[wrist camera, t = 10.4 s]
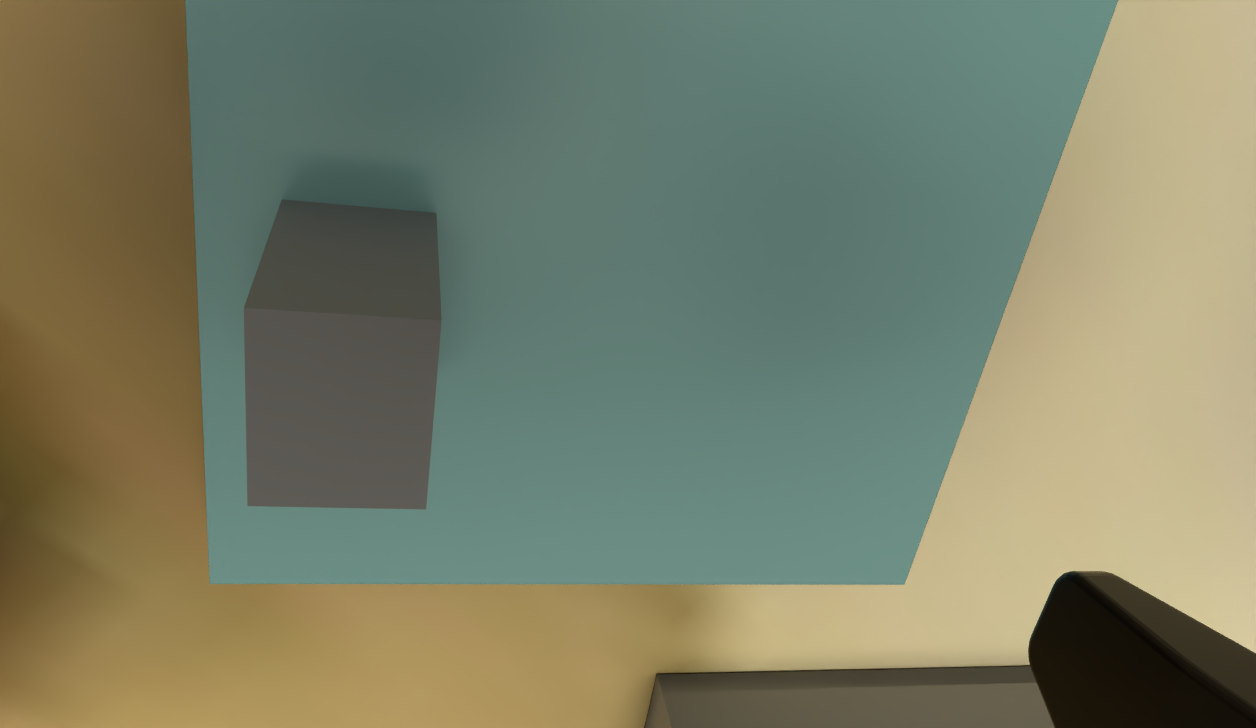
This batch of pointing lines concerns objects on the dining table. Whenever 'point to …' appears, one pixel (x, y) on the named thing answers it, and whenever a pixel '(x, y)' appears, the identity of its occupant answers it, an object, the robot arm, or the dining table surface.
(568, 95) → the lid
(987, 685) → the parts tub
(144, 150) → the dining table surface
